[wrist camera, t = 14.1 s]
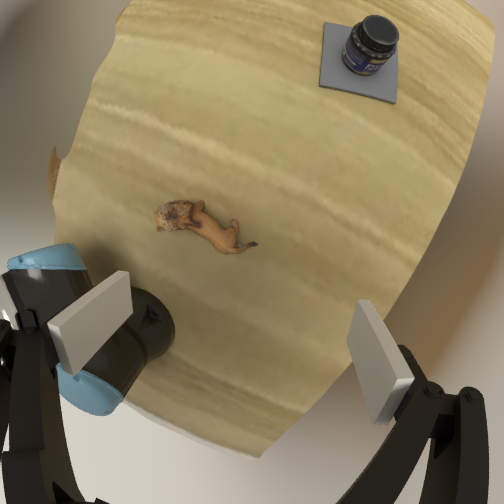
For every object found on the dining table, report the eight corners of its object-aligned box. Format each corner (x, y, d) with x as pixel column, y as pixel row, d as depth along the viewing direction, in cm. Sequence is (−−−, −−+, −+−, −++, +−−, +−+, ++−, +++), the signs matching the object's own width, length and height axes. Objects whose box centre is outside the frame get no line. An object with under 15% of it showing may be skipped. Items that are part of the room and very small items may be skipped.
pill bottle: (362, 83, 33) (384, 58, 22) (333, 55, 32) (345, 22, 22) (387, 64, 31) (413, 37, 21) (358, 36, 30) (377, 3, 20)
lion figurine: (170, 219, 44) (143, 232, 36) (180, 189, 42) (155, 195, 34) (252, 257, 44) (242, 279, 36) (265, 227, 42) (259, 242, 34)
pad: (319, 86, 35) (319, 84, 34) (324, 24, 31) (324, 21, 30) (394, 104, 34) (396, 103, 33) (395, 42, 30) (397, 40, 29)
